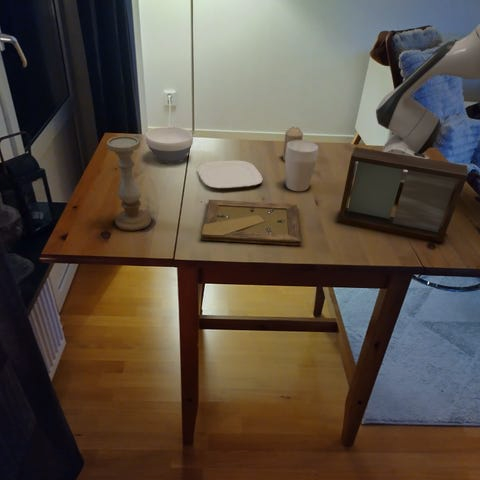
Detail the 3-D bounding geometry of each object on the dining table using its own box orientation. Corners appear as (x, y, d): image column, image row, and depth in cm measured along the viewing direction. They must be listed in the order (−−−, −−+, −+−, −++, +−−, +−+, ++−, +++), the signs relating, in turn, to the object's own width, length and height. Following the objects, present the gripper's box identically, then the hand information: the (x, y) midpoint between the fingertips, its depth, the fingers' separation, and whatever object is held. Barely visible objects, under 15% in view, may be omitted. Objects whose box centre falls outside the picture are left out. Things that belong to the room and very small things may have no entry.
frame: (341, 211, 125) (355, 146, 113) (442, 231, 119) (467, 165, 107) (337, 222, 121) (351, 155, 109) (441, 243, 115) (467, 175, 103)
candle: (285, 163, 148) (289, 131, 141) (280, 156, 152) (283, 125, 145) (301, 162, 149) (306, 130, 143) (296, 155, 153) (300, 124, 147)
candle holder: (109, 219, 117) (96, 138, 103) (141, 210, 121) (132, 132, 107) (124, 234, 112) (112, 152, 98) (157, 225, 116) (149, 144, 102)
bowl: (144, 151, 151) (142, 127, 146) (188, 148, 154) (187, 125, 149) (151, 169, 140) (148, 144, 135) (197, 166, 144) (197, 141, 139)
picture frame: (202, 240, 111) (300, 246, 111) (201, 234, 110) (301, 239, 110) (208, 204, 125) (295, 209, 125) (208, 198, 124) (296, 203, 124)
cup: (313, 182, 138) (320, 142, 130) (311, 195, 132) (317, 153, 124) (284, 178, 139) (288, 138, 132) (279, 191, 133) (284, 149, 125)
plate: (249, 164, 146) (250, 158, 145) (267, 188, 134) (268, 183, 132) (193, 168, 142) (193, 162, 141) (206, 194, 129) (206, 188, 128)
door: (350, 203, 125) (361, 152, 116) (391, 211, 122) (406, 159, 113) (347, 210, 122) (358, 158, 113) (389, 218, 119) (404, 166, 110)
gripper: (360, 145, 131) (352, 163, 121) (435, 157, 126) (433, 177, 116) (356, 167, 135) (348, 185, 125) (428, 179, 131) (425, 200, 121)
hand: (389, 181), depth 121 cm, fingers open, 8 cm apart
